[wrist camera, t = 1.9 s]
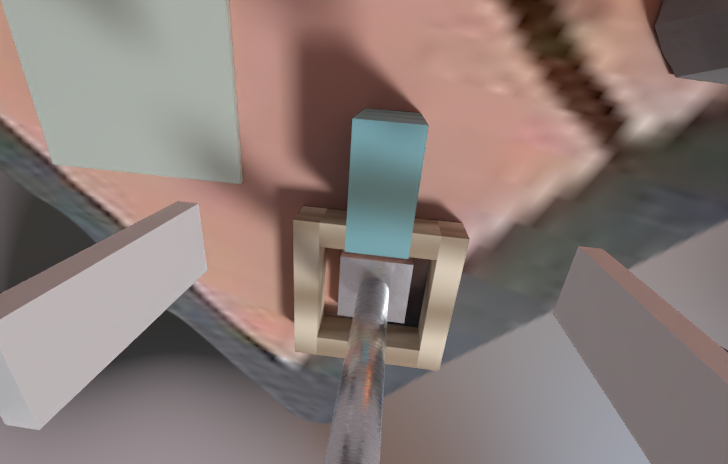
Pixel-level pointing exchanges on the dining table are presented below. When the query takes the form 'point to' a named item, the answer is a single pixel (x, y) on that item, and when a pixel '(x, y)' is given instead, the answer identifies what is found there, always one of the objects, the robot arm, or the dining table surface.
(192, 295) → the dining table surface
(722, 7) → the coffeepot
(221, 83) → the mat
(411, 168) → the sponge holder
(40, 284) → the robot arm
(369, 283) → the stand
